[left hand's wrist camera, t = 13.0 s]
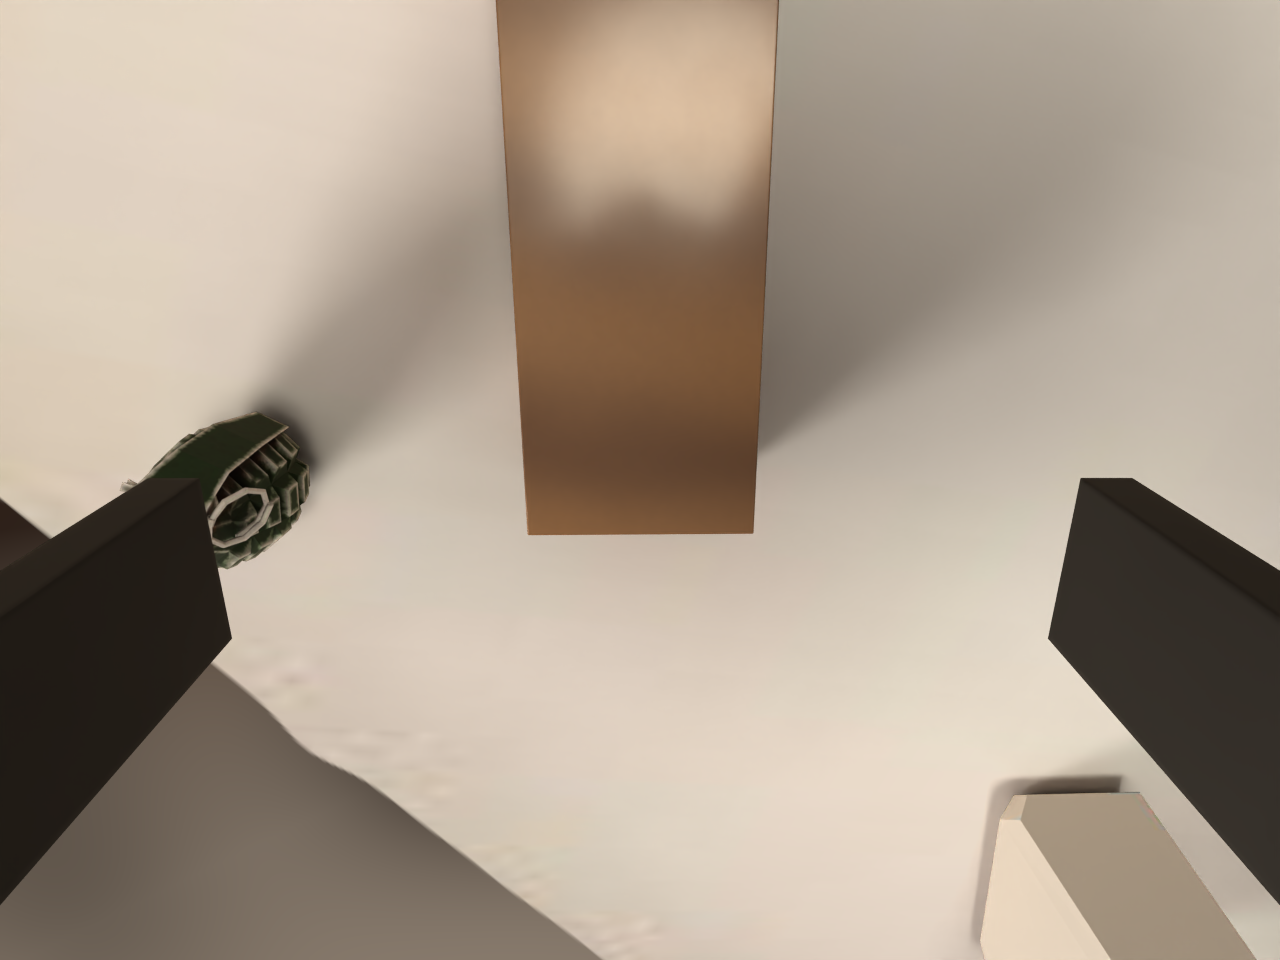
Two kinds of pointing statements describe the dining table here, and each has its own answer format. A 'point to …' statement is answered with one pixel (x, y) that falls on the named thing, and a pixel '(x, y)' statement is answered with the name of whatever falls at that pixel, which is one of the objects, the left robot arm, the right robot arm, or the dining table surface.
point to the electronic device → (1097, 886)
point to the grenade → (241, 482)
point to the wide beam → (638, 257)
